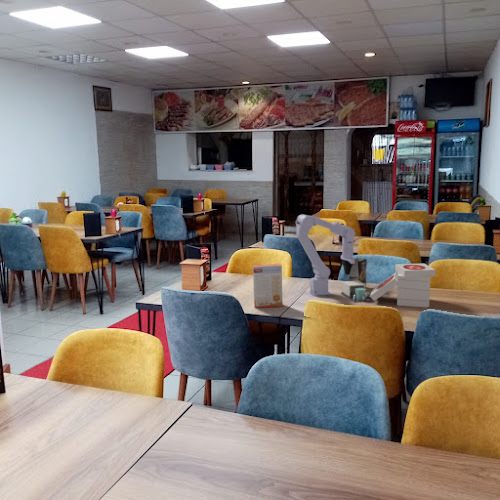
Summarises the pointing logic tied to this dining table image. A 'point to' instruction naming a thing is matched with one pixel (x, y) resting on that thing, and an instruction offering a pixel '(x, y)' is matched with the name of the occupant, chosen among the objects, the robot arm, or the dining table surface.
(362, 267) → the coffee box
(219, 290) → the dining table surface
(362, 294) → the jaw block
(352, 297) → the pin base
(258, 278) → the cracker box
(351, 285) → the housing cover
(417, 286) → the pizza box stack
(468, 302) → the dining table surface
